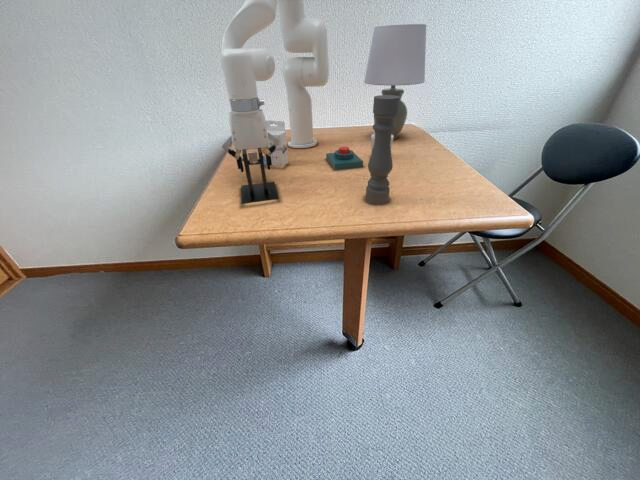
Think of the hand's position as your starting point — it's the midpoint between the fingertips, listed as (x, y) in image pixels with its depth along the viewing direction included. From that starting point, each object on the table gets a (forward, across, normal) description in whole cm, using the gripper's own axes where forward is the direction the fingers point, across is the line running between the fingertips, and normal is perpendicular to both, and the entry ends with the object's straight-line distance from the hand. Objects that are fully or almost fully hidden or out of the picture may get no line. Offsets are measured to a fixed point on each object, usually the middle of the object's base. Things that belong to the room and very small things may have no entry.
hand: (255, 168), depth 84 cm
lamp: (+5, -60, -35) cm, 70 cm away
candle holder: (+5, -31, +21) cm, 38 cm away
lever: (-3, 0, +5) cm, 6 cm away
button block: (+5, -31, -9) cm, 33 cm away
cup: (+5, -45, -9) cm, 46 cm away
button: (+1, -31, -9) cm, 32 cm away
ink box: (+5, -7, -14) cm, 16 cm away
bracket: (+5, 0, +9) cm, 10 cm away
